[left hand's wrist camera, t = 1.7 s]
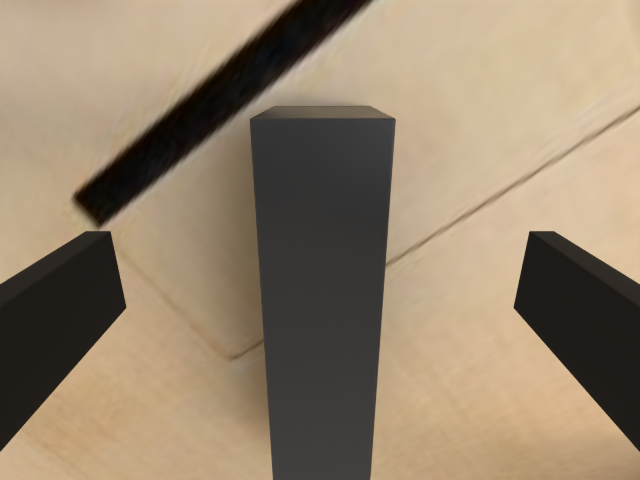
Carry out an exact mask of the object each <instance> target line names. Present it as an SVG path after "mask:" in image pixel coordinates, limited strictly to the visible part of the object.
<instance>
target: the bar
mask: <svg viewBox="0 0 640 480" xmlns="http://www.w3.org/2000/svg"><path fill="white" fill-rule="evenodd" d="M395 122H396V120H395V119H394V118H392V117H390V116H388V115H386V114H384V113H383V112H381V111H379V110H377V109H375V108H373V107H371V106H274V107H272V108H270V109H268V110H266V111H264V112H262V113H261V114H259V115H257V116H255V117H253V118H251V119H250V130H251V145H252V161H253V176H254V192H255V207H256V223H257V238H258V254H259V269H260V285H261V301H262V316H263V332H264V347H265V363H266V378H267V394H268V409H269V425H270V440H271V456H272V471H273V480H370V476H371V462H372V448H373V433H374V419H375V405H376V391H377V377H378V363H379V348H380V334H381V320H382V306H383V292H384V278H385V263H386V249H387V235H388V221H389V207H390V192H391V178H392V164H393V150H394V136H395Z"/></svg>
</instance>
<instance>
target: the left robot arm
mask: <svg viewBox="0 0 640 480" xmlns="http://www.w3.org/2000/svg"><path fill="white" fill-rule="evenodd" d="M125 309H126V303H125V298H124V294H123V289H122V284H121V279H120V275H119V270H118V265H117V260H116V255H115V251H114V246H113V241H112V236H111V232H110V231H86V232H84V233H82V234H81V235H79V236H78V237H76V238H74V239H73V240H71V241H70V242H68V243H66V244H65V245H63V246H61V247H60V248H58V249H57V250H55V251H53V252H52V253H50V254H49V255H47V256H45V257H44V258H42V259H40V260H39V261H37V262H36V263H34V264H32V265H31V266H29V267H28V268H26V269H24V270H23V271H21V272H19V273H18V274H16V275H15V276H13V277H11V278H10V279H8V280H6V281H5V282H3V283H2V284H0V452H1V450H2V449H3V448H4V447H5V446H6V445H7V444H8V442H9V441H10V440H11V439H12V438H13V437H14V436H15V434H16V433H17V432H18V431H19V430H20V429H21V428H22V426H23V425H24V424H25V423H26V422H27V421H28V420H29V418H30V417H31V416H32V415H33V414H34V413H35V412H36V410H37V409H38V408H39V407H40V406H41V405H42V404H43V402H44V401H45V400H46V399H47V398H48V397H49V396H50V394H51V393H52V392H53V391H54V390H55V389H56V388H57V386H58V385H59V384H60V383H61V382H62V381H63V380H64V378H65V377H66V376H67V375H68V374H69V373H70V372H71V370H72V369H73V368H74V367H75V366H76V365H77V364H78V362H79V361H80V360H81V359H82V358H83V357H84V356H85V354H86V353H87V352H88V351H89V350H90V349H91V348H92V346H93V345H94V344H95V343H96V342H97V341H98V340H99V338H100V337H101V336H102V335H103V334H104V333H105V332H106V330H107V329H108V328H109V327H110V326H111V325H112V324H113V322H114V321H115V320H116V319H117V318H118V317H119V316H120V314H121V313H122V312H123V311H124V310H125ZM514 309H515V310H516V311H517V312H518V313H519V314H520V316H521V317H522V318H523V319H524V320H525V321H526V322H527V324H528V325H529V326H530V327H531V328H532V329H533V330H534V332H535V333H536V334H537V335H538V336H539V337H540V338H541V340H542V341H543V342H544V343H545V344H546V345H547V346H548V348H549V349H550V350H551V351H552V352H553V353H554V354H555V356H556V357H557V358H558V359H559V360H560V361H561V362H562V364H563V365H564V366H565V367H566V368H567V369H568V370H569V372H570V373H571V374H572V375H573V376H574V377H575V378H576V380H577V381H578V382H579V383H580V384H581V385H582V386H583V388H584V389H585V390H586V391H587V392H588V393H589V394H590V396H591V397H592V398H593V399H594V400H595V401H596V402H597V404H598V405H599V406H600V407H601V408H602V409H603V410H604V412H605V413H606V414H607V415H608V416H609V417H610V418H611V420H612V421H613V422H614V423H615V424H616V425H617V426H618V428H619V429H620V430H621V431H622V432H623V433H624V434H625V436H626V437H627V438H628V439H629V440H630V441H631V442H632V444H633V445H634V446H635V447H636V448H637V449H638V450H639V452H640V284H638V283H637V282H635V281H634V280H632V279H630V278H629V277H627V276H625V275H624V274H622V273H621V272H619V271H617V270H616V269H614V268H612V267H611V266H609V265H608V264H606V263H604V262H603V261H601V260H600V259H598V258H596V257H595V256H593V255H591V254H590V253H588V252H587V251H585V250H583V249H582V248H580V247H579V246H577V245H575V244H574V243H572V242H570V241H569V240H567V239H566V238H564V237H562V236H561V235H559V234H558V233H556V232H554V231H530V232H529V236H528V241H527V246H526V251H525V255H524V260H523V265H522V270H521V275H520V279H519V284H518V289H517V294H516V298H515V303H514Z"/></svg>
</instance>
